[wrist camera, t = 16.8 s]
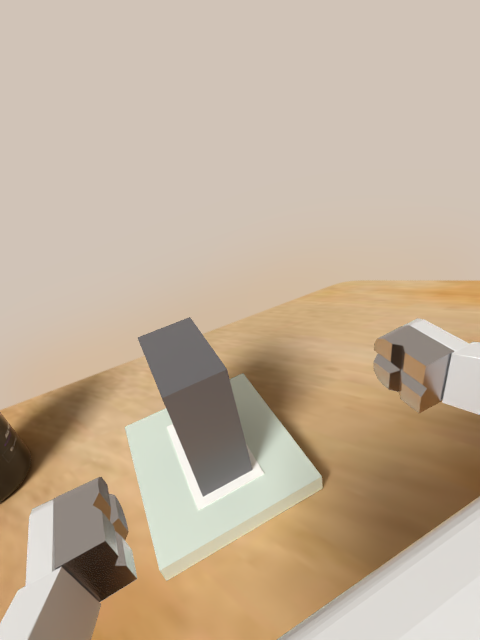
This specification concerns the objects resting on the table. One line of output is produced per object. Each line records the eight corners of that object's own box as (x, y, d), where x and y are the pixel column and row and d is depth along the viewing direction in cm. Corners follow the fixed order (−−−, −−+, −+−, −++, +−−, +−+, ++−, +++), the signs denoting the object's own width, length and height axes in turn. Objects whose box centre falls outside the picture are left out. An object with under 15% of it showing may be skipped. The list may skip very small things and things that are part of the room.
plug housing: (217, 409, 32) (189, 317, 27) (252, 469, 26) (226, 369, 21) (175, 429, 31) (137, 337, 25) (203, 496, 25) (162, 398, 20)
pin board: (245, 384, 36) (239, 356, 34) (322, 488, 26) (320, 457, 24) (130, 437, 33) (115, 410, 31) (166, 580, 23) (148, 554, 21)
